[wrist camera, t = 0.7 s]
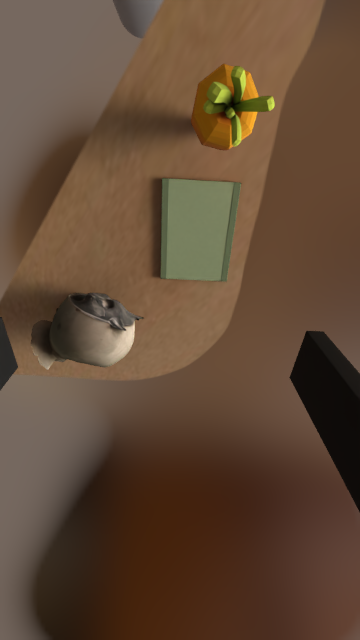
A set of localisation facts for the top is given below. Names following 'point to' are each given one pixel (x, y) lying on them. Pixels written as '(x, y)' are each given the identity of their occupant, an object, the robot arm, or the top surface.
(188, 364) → the top surface
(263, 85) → the top surface
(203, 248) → the tray
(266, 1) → the top surface
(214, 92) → the carrot
